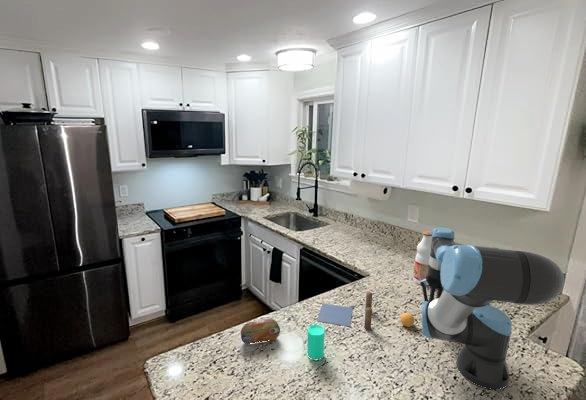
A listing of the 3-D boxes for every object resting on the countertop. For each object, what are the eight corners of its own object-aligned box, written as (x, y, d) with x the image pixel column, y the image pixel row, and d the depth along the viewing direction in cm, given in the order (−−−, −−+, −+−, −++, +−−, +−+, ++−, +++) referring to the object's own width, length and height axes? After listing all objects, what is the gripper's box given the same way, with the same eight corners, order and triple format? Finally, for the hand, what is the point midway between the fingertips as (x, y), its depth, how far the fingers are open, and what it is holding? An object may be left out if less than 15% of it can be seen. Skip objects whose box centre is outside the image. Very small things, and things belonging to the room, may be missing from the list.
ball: (414, 330, 124) (416, 318, 123) (400, 328, 126) (401, 316, 125) (413, 322, 130) (414, 311, 128) (399, 320, 131) (400, 309, 130)
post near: (370, 330, 124) (372, 311, 122) (364, 329, 125) (365, 310, 123) (370, 327, 127) (372, 307, 125) (364, 326, 127) (365, 306, 125)
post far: (371, 313, 136) (372, 295, 134) (365, 312, 137) (366, 294, 135) (371, 310, 138) (372, 292, 136) (365, 309, 139) (366, 291, 137)
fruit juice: (426, 287, 159) (432, 237, 153) (409, 280, 166) (414, 232, 160) (435, 282, 165) (441, 233, 158) (418, 275, 172) (423, 228, 165)
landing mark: (350, 326, 127) (350, 326, 127) (317, 321, 130) (317, 320, 130) (352, 308, 140) (352, 307, 140) (322, 303, 143) (322, 303, 143)
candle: (313, 346, 115) (314, 318, 112) (326, 354, 111) (327, 325, 108) (303, 355, 110) (304, 326, 107) (317, 363, 106) (318, 333, 104)
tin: (241, 347, 114) (240, 327, 113) (240, 341, 117) (239, 322, 116) (280, 340, 118) (280, 321, 116) (278, 335, 121) (278, 316, 119)
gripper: (455, 264, 121) (447, 316, 127) (420, 260, 124) (414, 311, 130) (459, 273, 114) (451, 327, 120) (422, 268, 117) (416, 322, 123)
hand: (432, 319), depth 125 cm, fingers closed
